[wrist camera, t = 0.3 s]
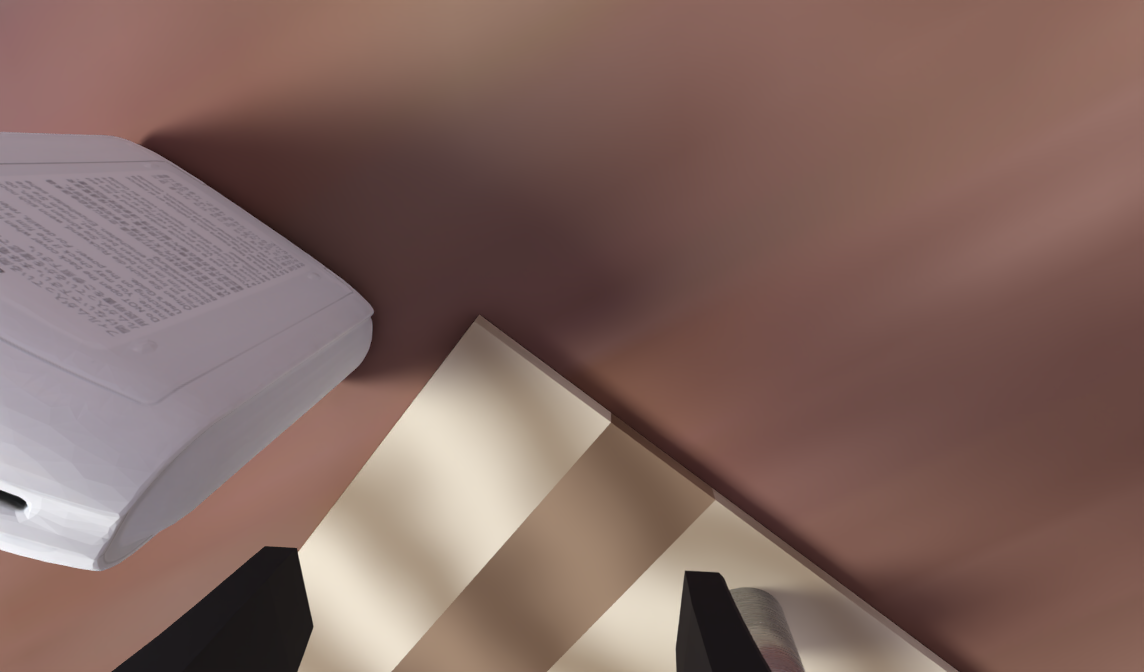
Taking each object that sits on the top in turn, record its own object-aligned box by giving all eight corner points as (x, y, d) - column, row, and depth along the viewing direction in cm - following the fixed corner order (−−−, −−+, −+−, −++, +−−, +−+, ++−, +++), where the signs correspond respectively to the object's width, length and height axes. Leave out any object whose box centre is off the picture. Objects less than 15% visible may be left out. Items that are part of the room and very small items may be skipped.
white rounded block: (61, 227, 21) (-605, 325, 10) (117, 113, 20) (-550, 63, 9) (335, 404, 23) (51, 683, 11) (400, 305, 22) (166, 493, 10)
